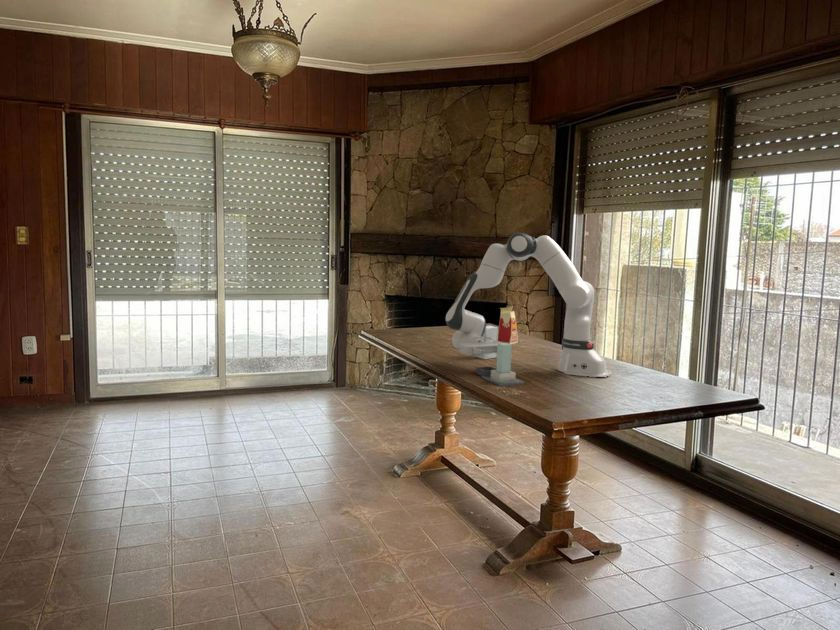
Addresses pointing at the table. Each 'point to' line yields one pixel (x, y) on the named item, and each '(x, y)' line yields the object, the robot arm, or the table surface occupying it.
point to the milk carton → (507, 326)
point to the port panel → (503, 378)
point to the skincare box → (490, 333)
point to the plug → (504, 358)
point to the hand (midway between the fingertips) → (491, 351)
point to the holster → (484, 370)
